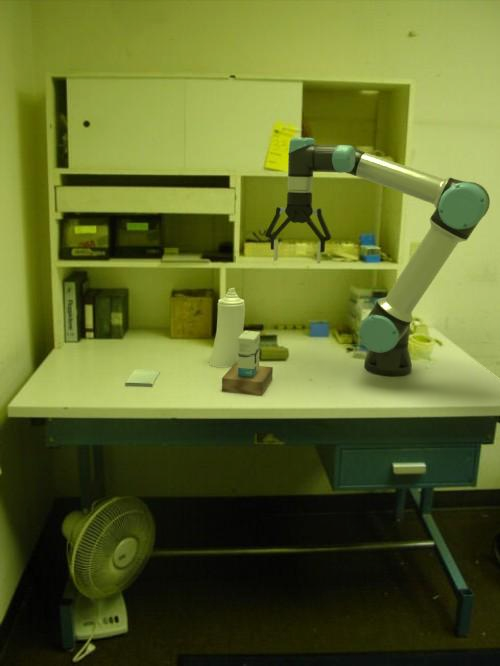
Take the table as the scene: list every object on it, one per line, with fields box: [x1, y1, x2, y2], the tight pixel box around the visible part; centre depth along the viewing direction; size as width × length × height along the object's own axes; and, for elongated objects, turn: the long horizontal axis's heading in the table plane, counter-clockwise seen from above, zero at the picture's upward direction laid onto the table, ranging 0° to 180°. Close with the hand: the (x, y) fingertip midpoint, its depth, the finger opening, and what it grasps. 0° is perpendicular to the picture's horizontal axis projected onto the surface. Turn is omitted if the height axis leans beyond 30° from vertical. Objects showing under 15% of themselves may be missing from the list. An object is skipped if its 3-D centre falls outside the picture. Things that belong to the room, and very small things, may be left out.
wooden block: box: [221, 362, 274, 396], centre depth 183 cm, size 12×14×4 cm
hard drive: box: [124, 368, 161, 388], centre depth 187 cm, size 2×8×12 cm
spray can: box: [209, 287, 246, 368], centre depth 201 cm, size 12×11×25 cm
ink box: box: [237, 330, 261, 377], centre depth 181 cm, size 8×5×12 cm, turn 167°
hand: (296, 261), depth 191 cm, fingers open, 13 cm apart
